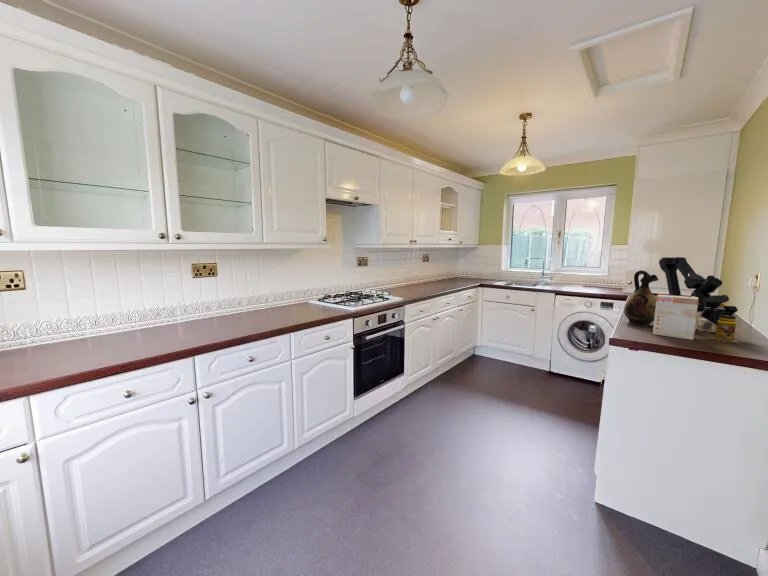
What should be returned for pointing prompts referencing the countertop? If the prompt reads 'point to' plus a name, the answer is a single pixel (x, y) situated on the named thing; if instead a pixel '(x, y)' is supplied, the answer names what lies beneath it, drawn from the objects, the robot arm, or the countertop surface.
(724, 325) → the condiment
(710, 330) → the beech block
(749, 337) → the countertop surface
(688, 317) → the coffeecake box
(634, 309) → the ceramic jug
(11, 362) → the countertop surface
